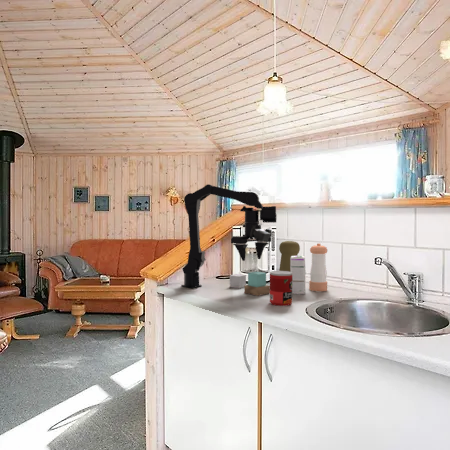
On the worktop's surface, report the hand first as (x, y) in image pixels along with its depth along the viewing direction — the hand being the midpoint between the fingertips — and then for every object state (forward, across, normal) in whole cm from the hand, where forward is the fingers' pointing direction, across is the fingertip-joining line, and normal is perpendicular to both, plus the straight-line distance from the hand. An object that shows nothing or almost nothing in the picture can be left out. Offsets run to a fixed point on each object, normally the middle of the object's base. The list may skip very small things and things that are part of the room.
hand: (251, 259), depth 169 cm
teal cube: (+9, -5, -8) cm, 13 cm away
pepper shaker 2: (+12, +19, -20) cm, 30 cm away
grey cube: (+12, -1, +7) cm, 14 cm away
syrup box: (+12, +8, -18) cm, 23 cm away
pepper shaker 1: (+12, +20, -4) cm, 24 cm away
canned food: (+12, -12, -26) cm, 31 cm away
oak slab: (+12, -5, -8) cm, 15 cm away
